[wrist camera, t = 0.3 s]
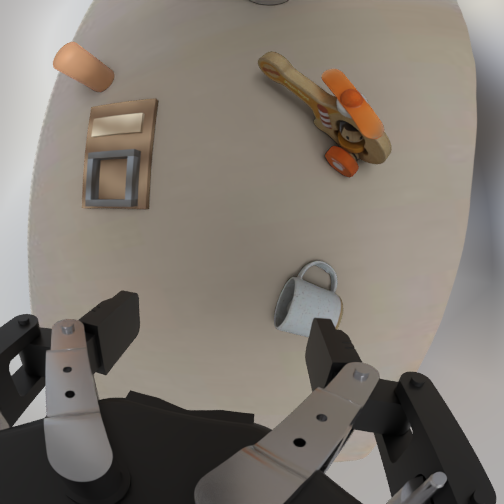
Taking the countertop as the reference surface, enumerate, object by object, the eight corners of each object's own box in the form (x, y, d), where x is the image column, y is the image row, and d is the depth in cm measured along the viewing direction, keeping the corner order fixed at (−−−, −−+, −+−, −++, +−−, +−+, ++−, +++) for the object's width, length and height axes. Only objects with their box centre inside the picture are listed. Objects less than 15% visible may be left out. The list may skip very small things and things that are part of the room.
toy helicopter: (349, 184, 38) (391, 180, 25) (242, 93, 36) (235, 49, 23) (380, 147, 37) (428, 130, 24) (277, 59, 35) (285, 9, 21)
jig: (95, 108, 36) (83, 103, 33) (158, 100, 36) (150, 93, 33) (85, 207, 40) (73, 208, 36) (148, 208, 40) (139, 209, 36)
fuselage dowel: (95, 71, 35) (57, 46, 23) (116, 66, 35) (81, 38, 23) (90, 93, 36) (49, 72, 24) (111, 89, 36) (73, 65, 24)
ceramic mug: (318, 329, 43) (329, 352, 35) (271, 314, 43) (274, 337, 35) (345, 268, 41) (363, 283, 34) (296, 251, 41) (306, 262, 33)
